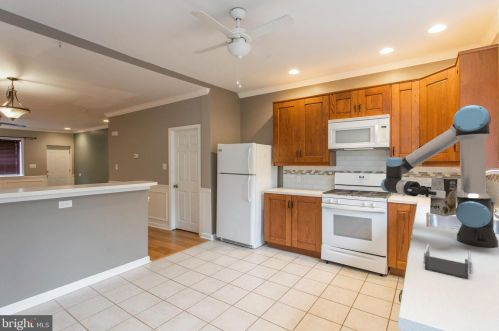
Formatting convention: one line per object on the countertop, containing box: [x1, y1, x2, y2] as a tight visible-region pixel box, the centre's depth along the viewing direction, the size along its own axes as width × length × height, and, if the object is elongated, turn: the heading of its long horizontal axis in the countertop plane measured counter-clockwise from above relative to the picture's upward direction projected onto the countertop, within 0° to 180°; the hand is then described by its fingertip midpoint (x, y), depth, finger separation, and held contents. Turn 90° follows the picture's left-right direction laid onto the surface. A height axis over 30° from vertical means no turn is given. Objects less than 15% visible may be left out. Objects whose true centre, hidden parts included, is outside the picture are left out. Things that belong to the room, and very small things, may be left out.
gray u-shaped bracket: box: [423, 243, 472, 280], centre depth 98 cm, size 20×14×5 cm
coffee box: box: [429, 177, 459, 217], centre depth 113 cm, size 9×6×16 cm
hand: (454, 194), depth 109 cm, fingers closed on coffee box, 10 cm apart
